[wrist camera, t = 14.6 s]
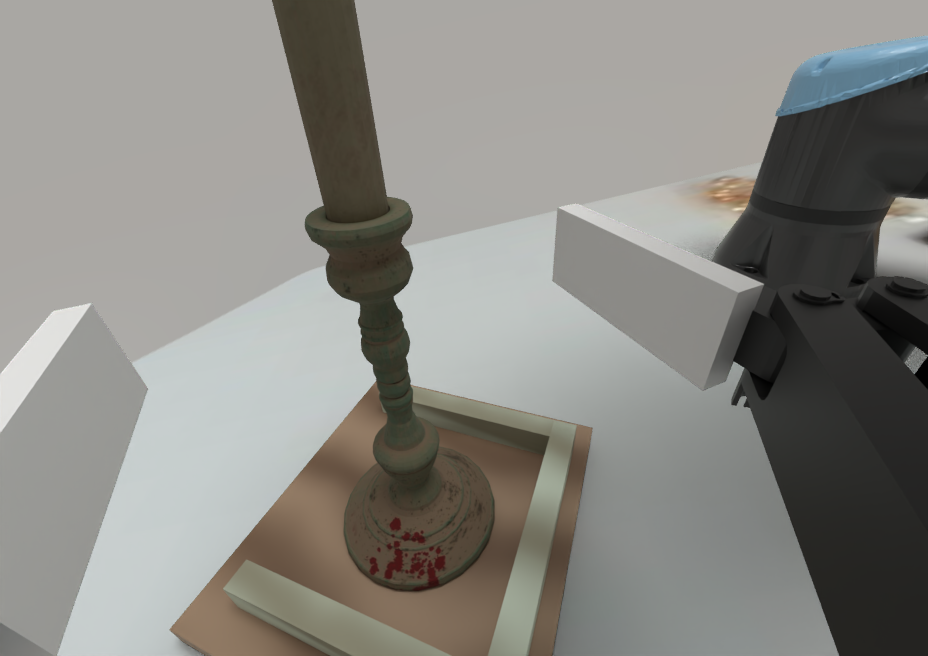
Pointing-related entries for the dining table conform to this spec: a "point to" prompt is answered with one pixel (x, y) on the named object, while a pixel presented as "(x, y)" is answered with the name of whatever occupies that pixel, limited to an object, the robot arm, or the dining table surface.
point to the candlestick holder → (378, 316)
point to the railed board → (402, 611)
